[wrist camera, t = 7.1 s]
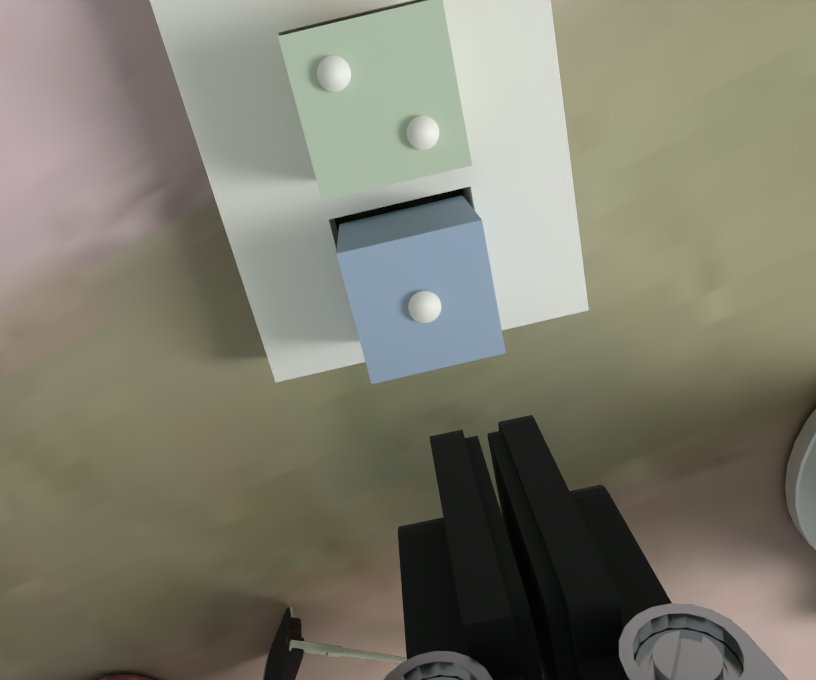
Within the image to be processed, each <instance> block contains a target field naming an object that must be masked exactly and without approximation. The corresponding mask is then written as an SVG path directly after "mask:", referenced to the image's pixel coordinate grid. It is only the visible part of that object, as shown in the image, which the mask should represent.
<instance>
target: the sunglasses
mask: <svg viewBox="0 0 816 680" xmlns="http://www.w3.org/2000/svg"><path fill="white" fill-rule="evenodd" d="M286 608H287V609H286V611H285V614H284V616H283V619H282V621H281V624H280V626H279V629H278V631H277V633H276V636H275V638H274V641H273V643H272V646H271V648H270V650H269V651H268V655H267V660H266V665H265V669H264V675H263V680H295V678H296V675H297V672H298V669H299V667H300V664H301V661H302V658H303V654H304V653H308V654H316V655H323V656H330V657H337V658H340V657H341V656H345V657H352V658H360V659H367V660H374V661H381V662H388V663H395V664H401V663H402V662H404V661H406V660H407V658H405V657H399V656H392V655H386V654H379V653H372V652H365V651H358V650H352V649H346V648H342V647H340V646H333V645H327V644H320V643H312V642H305V641H304V638H301V619H299V618H294V612H293V608H292V606H291V605H288V606H287V607H286ZM543 680H544V679H543Z"/></svg>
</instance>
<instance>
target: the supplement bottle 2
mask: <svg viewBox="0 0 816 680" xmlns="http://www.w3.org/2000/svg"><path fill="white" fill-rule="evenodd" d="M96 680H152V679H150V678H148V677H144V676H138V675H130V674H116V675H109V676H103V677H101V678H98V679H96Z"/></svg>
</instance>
